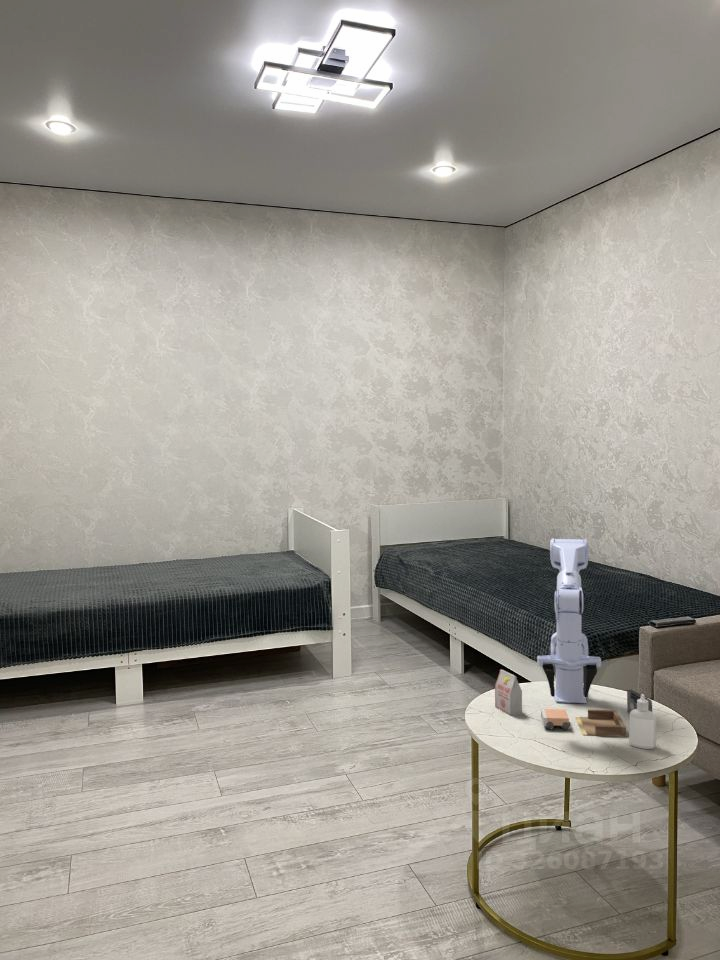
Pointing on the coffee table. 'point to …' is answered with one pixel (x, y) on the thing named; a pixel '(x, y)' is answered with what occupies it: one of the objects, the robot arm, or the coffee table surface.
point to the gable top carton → (508, 694)
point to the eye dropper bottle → (642, 726)
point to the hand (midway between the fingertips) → (569, 695)
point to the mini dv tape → (635, 701)
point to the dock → (602, 723)
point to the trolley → (555, 718)
